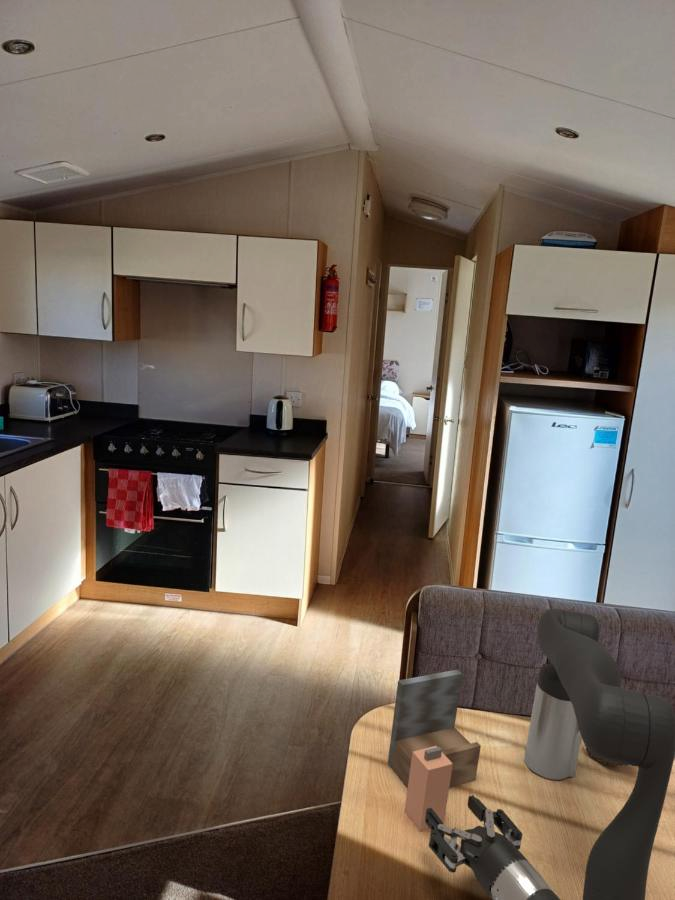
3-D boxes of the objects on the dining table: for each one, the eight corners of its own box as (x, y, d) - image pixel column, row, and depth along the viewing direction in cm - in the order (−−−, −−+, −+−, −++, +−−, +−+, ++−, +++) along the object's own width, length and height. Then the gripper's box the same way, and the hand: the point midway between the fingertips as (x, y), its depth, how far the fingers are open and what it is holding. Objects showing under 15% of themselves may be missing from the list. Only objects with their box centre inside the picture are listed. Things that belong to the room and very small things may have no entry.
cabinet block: (427, 804, 118) (437, 738, 116) (443, 824, 114) (453, 756, 111) (404, 810, 116) (413, 744, 114) (419, 831, 112) (429, 762, 109)
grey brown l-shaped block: (446, 748, 135) (457, 669, 131) (475, 780, 126) (488, 696, 122) (387, 763, 128) (398, 680, 125) (414, 797, 120) (426, 709, 116)
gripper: (554, 848, 97) (485, 776, 111) (478, 877, 91) (415, 797, 105) (546, 891, 99) (479, 814, 113) (471, 922, 92) (410, 836, 106)
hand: (448, 806), depth 109 cm, fingers open, 8 cm apart
